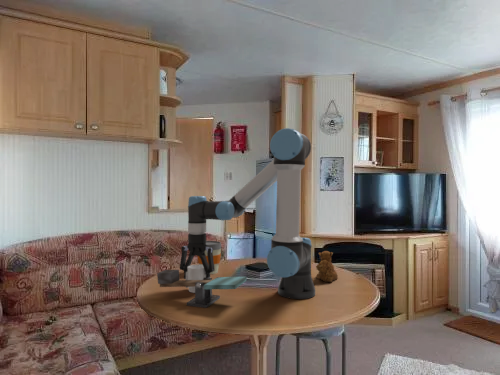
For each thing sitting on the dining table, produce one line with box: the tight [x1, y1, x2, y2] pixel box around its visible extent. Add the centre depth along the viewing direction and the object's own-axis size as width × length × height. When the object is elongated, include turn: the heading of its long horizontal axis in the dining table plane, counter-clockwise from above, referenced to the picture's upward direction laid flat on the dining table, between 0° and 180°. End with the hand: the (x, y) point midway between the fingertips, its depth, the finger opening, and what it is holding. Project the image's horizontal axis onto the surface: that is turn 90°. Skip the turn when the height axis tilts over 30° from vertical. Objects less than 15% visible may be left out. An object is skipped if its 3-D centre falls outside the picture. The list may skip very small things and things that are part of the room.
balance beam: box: [156, 269, 248, 290], centre depth 135 cm, size 33×12×6 cm, turn 71°
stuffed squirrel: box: [315, 250, 338, 283], centre depth 167 cm, size 10×14×13 cm
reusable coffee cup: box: [196, 240, 222, 275], centre depth 181 cm, size 13×13×15 cm
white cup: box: [187, 264, 206, 294], centre depth 149 cm, size 8×8×10 cm
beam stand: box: [186, 276, 221, 309], centre depth 134 cm, size 8×12×8 cm, turn 161°
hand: (196, 287), depth 149 cm, fingers closed on white cup, 8 cm apart
